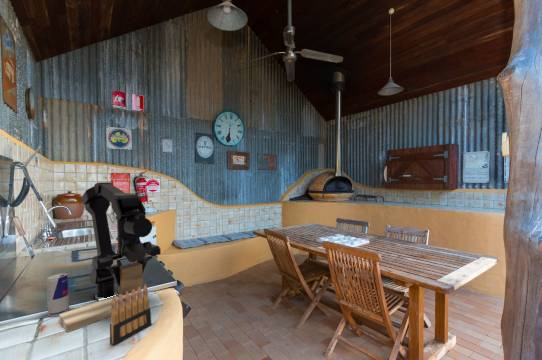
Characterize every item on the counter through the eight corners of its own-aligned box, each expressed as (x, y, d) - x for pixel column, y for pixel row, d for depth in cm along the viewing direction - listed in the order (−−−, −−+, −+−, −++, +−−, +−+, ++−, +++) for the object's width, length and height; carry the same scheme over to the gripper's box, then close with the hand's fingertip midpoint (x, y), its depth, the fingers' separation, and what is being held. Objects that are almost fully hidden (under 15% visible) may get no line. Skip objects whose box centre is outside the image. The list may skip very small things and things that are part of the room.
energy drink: (70, 312, 84) (69, 275, 84) (49, 319, 81) (47, 280, 81) (67, 307, 88) (66, 271, 88) (46, 313, 84) (45, 276, 84)
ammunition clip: (113, 346, 66) (112, 298, 66) (109, 344, 67) (107, 297, 67) (151, 325, 75) (150, 283, 75) (147, 323, 76) (146, 282, 76)
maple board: (59, 320, 79) (59, 313, 79) (135, 294, 96) (134, 289, 96) (67, 332, 73) (67, 325, 73) (147, 302, 90) (147, 296, 89)
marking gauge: (107, 285, 88) (107, 261, 88) (126, 279, 93) (126, 257, 93) (122, 295, 80) (121, 269, 80) (142, 288, 84) (142, 264, 84)
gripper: (103, 243, 71) (105, 300, 72) (168, 231, 86) (169, 278, 86) (90, 238, 79) (92, 289, 79) (152, 228, 93) (153, 271, 93)
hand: (129, 282), depth 84 cm, fingers closed on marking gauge, 6 cm apart
